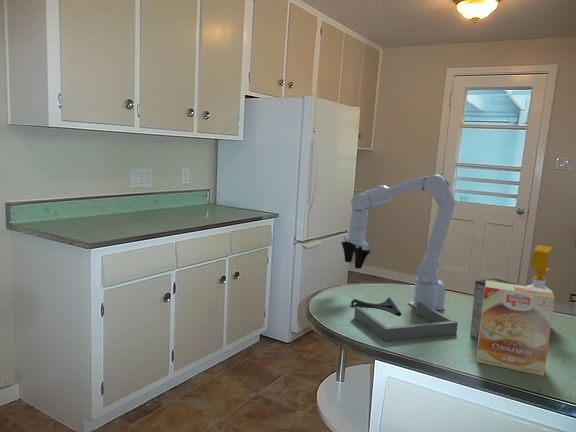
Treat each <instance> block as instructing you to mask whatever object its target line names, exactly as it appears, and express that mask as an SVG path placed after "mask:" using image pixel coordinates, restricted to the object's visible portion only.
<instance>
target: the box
mask: <svg viewBox="0 0 576 432" xmlns="http://www.w3.org/2000/svg"><path fill="white" fill-rule="evenodd" d="M415 309H416V310H415V313H416V314H417V315H418V316H420V317H422V318H424V319H426V320H427V321H429V323H418V324H410V325H409V324H407V325H398V326H397V325H396V326H387V325H386V324H384V323H383V322H381V321H379V320H378V319H377V318H375V317H374V316H372V315H371V314H370V313H368V312H367V311H365V310H364V309H362V308H361V307H360V306H354V315H353V316H354V319H355V320H356V321H357V322H359V323H360V324H361V325H363V326H364V327H365V328H367V329H368V330H369V331H371V332H372V333H373V334H375V336H377V337H379V339H381V340H382V341H384V342H385V343H386V342H394V341H404V340H412V339H413V340H414V339H424V338H432V337H440V336H441V337H442V336H450V335H451V336H452V335H457V334H458V333H457V332H458V324H459V323H458V321H456V320H454V319H452V318H450V317H448V316H447V315H445V314H443V313H441V312H439V311H438V310H434V309H432V308H430V307H428V306H426V305H425V304H423V303H421V302H417V306H416V308H415Z"/></svg>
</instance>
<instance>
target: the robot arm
mask: <svg viewBox="0 0 576 432" xmlns="http://www.w3.org/2000/svg"><path fill="white" fill-rule="evenodd" d="M411 191H412V192H413V191H418V192H424V191H425V193H427V194H428V195H429V196H431V197H432V198H433V199H434V200H435V202H436V204H437V205H438V210H437V213H436V217H435V219H434V224H433V227H432V229H431V234H430V236H429V240H428V242H427V243H428V244H427V247H426V250H425V253H424V256H423V258H422V261H421V263H420V265H419V266H418V267H417V269H416V271H415V272H416V273H415V275H416V277H415V284H414V296H413V301H408V302H407V304H408V305H410V306H412V307H414V308H415V309H416V306H417V302H421V303H423V304H425V305H426V306H428V307H430V308H432V309H434V310H436V311H438V310H440V311H441V310H446V307H445V300H446V286H445V284H444V282H443V281H441V280H439V279H438V278H437V275H438V274H439V272H440V265H439V262H440V257H441V253H442V251H443V250H442V249H443V246H444V244H445V240H446V236H447V233H448V230H449V226H450V223H451V220H452V217H453V214H454V211H455V207H456V200H455V197H454V194H453V191H452V188H451V183H450V182H449V181H448V180H447V178H445V176H443V175H441V174H438V173H437V174H431V175H427V176H422V177H421V176H420V177H416V178H413V179H410V180H408V181H403V182H402V183H399V184H396V185H393V186H390V187H389V186H387V185H386V184H385V185H382V184H378V185H376V187H375V188H372V189H369V190H368V189H365V190H363V192H359V193H356V194H355V195H353V196H352V197H351V199H350V200H351V201H350V204H351V212H350V213H351V214H350V219H349V220H350V222H349V229H348V234H344V237H343V241H341V246H342V249H343V254H344V262H345V263H352V260H353V256H354V268H355V269H362V268H363V265H364V262H365V260H366V258H367V256H368V255H369V254H370V253H371V250H370V249H369V247H370V245H369V244H368V243H367V241H366V240H365V239H366V232H367V224H368V217H369V215H368V213H369V208H370V207H376V206H379V205H382V204H385V203H388V202H390V201H391V200H392V197H394V196H397V195H400V194H401V195H402V194H405V193H407V192H411Z"/></svg>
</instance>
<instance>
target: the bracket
mask: <svg viewBox="0 0 576 432" xmlns="http://www.w3.org/2000/svg"><path fill="white" fill-rule="evenodd" d="M350 304H351V307H360V308H361V307H362V308H363V307H364V308H376V309H381V310H383V311H387V312H389V313H391V314H393V315H394V316H395V315H396V316H398V314H399V316H402V312H401V311H400V310H399V308H398V306H397V305H396V303H395V302H394V301H393V299H392V298H391V297H387V298H386V299H385V301H383V302H379V303H373V302H372V303H371V302H365V301H363V300H359V299H356V298H353V299H352V300H351V302H350Z"/></svg>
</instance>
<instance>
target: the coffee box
mask: <svg viewBox="0 0 576 432" xmlns="http://www.w3.org/2000/svg"><path fill="white" fill-rule="evenodd" d="M486 280H488V281H494V282H501V283H507V284H514V285H517V284H516V283H514V282H510V281H508V280H503V279H500V278H491V279H481V280H475V283H474V292H473V303H472V312H471V313H472V314H471V320H470V321H471V322H470V323H471V324H470V332H469V335H470V336H471V337H475V338H476V339H479V330H480V323H481V315H482V306H483V298H484V289H485V282H486Z"/></svg>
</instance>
